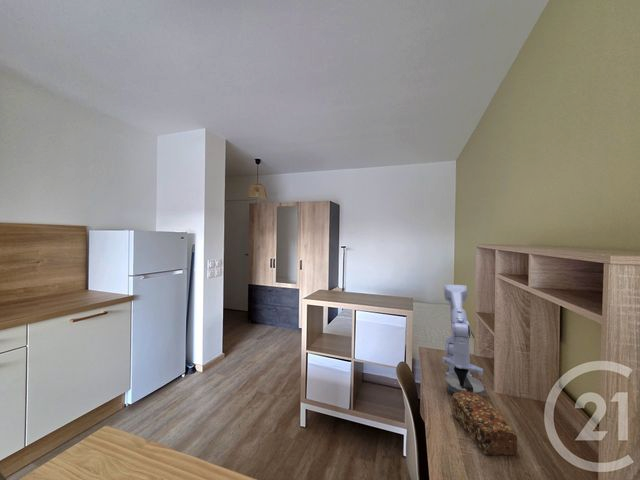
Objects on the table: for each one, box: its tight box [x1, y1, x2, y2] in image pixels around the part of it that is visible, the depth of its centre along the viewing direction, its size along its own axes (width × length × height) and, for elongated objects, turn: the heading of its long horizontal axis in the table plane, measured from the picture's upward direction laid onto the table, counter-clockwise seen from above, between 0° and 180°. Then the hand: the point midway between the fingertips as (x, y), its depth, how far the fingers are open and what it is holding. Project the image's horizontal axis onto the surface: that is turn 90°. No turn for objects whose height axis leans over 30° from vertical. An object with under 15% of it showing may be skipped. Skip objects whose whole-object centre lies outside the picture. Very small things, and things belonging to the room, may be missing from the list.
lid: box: [445, 373, 485, 393], centre depth 104 cm, size 16×14×3 cm
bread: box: [451, 391, 518, 457], centre depth 83 cm, size 19×11×10 cm, turn 0°
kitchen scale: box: [446, 382, 484, 399], centre depth 103 cm, size 18×14×4 cm
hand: (462, 385), depth 101 cm, fingers closed
